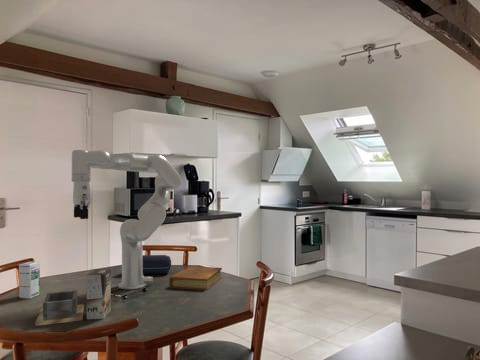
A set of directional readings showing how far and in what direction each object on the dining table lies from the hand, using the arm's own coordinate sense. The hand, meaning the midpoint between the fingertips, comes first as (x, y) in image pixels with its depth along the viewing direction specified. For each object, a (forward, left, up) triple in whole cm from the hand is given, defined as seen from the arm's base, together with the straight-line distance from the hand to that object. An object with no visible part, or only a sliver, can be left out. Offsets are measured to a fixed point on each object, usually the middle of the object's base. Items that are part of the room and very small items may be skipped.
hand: (80, 218), depth 163 cm
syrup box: (+21, -9, -34) cm, 41 cm away
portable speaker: (-32, -31, -34) cm, 56 cm away
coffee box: (-7, +27, -34) cm, 44 cm away
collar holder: (+6, +23, -34) cm, 42 cm away
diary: (-52, -4, -35) cm, 63 cm away
